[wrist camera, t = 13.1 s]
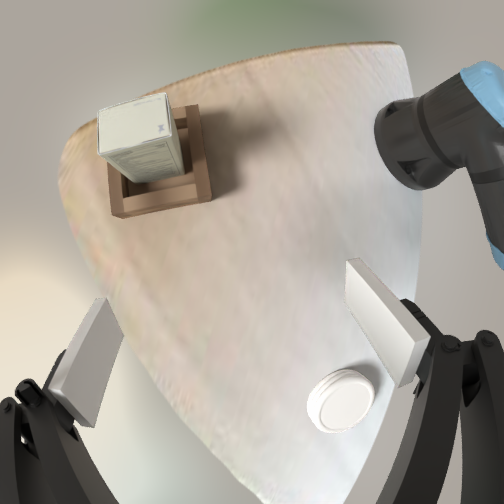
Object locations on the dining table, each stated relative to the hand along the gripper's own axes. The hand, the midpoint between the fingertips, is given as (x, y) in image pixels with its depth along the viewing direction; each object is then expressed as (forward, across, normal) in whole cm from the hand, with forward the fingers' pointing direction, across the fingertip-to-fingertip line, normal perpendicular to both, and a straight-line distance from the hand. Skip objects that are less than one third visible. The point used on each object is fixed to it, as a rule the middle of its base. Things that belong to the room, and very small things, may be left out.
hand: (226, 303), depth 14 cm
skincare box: (+21, -7, +6) cm, 23 cm away
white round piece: (+10, +12, -28) cm, 32 cm away
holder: (+21, -7, +6) cm, 23 cm away
